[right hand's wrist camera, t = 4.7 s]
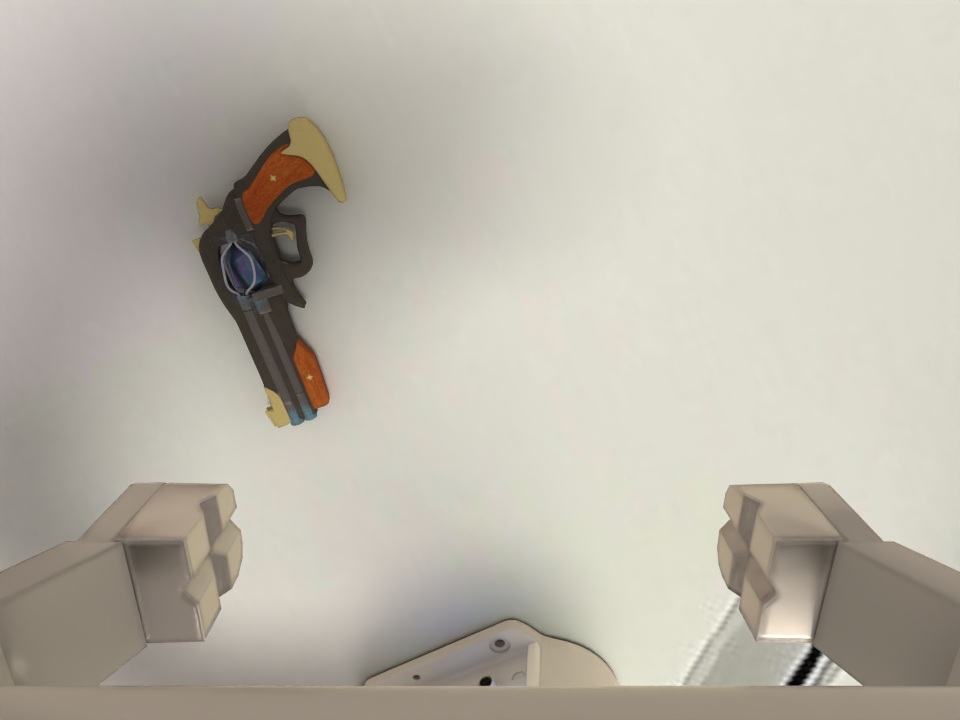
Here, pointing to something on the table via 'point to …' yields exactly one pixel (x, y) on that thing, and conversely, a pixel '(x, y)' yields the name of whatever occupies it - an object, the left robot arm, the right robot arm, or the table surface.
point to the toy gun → (272, 265)
